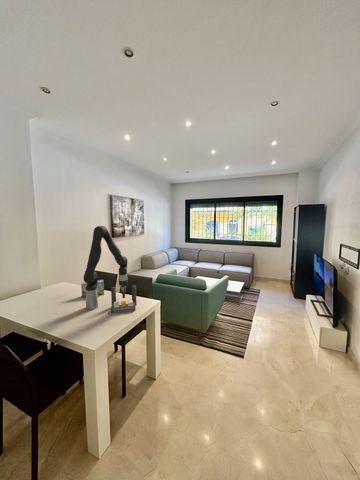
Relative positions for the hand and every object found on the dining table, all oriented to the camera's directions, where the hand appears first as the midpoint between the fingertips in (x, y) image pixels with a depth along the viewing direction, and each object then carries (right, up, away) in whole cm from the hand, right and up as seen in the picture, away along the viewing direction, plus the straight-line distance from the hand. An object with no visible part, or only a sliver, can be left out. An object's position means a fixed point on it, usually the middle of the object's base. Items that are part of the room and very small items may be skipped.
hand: (123, 297), depth 175 cm
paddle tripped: (+1, -6, -4) cm, 7 cm away
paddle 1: (-5, -6, -5) cm, 9 cm away
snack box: (-41, -7, +30) cm, 51 cm away
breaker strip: (+1, -10, -3) cm, 11 cm away
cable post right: (+8, -9, +8) cm, 14 cm away
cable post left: (-10, -9, +4) cm, 14 cm away
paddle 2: (+7, -6, -2) cm, 9 cm away
